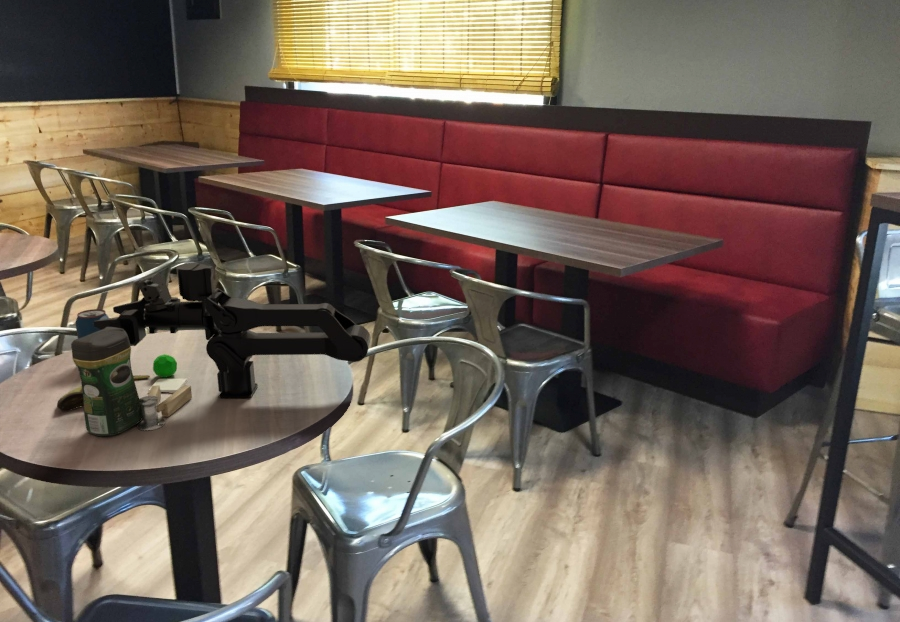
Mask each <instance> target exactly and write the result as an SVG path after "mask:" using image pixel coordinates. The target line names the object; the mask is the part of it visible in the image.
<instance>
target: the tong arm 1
mask: <svg viewBox="0 0 900 622" xmlns="http://www.w3.org/2000/svg"><path fill="white" fill-rule="evenodd" d="M151 387H152V388H151ZM151 387H150V388H151V390H150V392H148V394H147V396H157V397H158V402H157V403H156V406H157V405H159V404H160V402H161V398H162V397H161V396H162V393H160V385H158V386H153V385H152V386H151Z"/></svg>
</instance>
